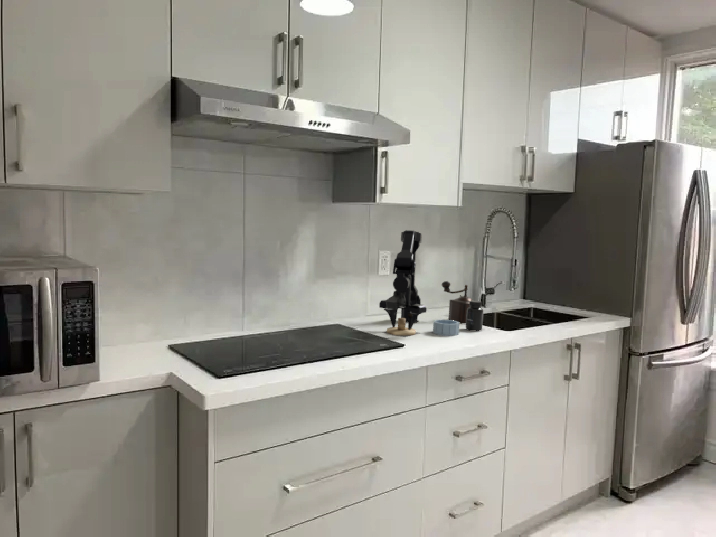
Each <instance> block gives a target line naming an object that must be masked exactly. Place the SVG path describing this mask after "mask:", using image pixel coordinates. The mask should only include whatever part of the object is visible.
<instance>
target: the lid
mask: <svg viewBox="0 0 716 537" xmlns="http://www.w3.org/2000/svg"><path fill="white" fill-rule="evenodd" d="M406 323H407V322H406V318H401V317H398V318H397V326H395V327H392V326H391V327H387V329H386V331H387V333H389V334H388V335H391V334H392V336H396V335H399V336H398V337H402V336H408V337H411V336H410V335H412V336H416V335H417V334H416V332H417V330H416V329H415V328H413V327H412V328H411V330H408V326H407V325H406ZM406 326H407V327H406ZM415 334H416V335H415Z"/></svg>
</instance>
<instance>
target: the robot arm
mask: <svg viewBox="0 0 716 537" xmlns="http://www.w3.org/2000/svg"><path fill="white" fill-rule="evenodd" d="M400 242H401V243H402V246H401V251H399V252H398V253H397V254H396V258H394V261H393V269H392V274H393V275H396V277H395V278H393V279H394V280H393V281H392V287H393V289H394V290H393V294H392V296H390V297H389V298H387V299H382V300H380V301H379V308H380V309H383V311H385V312H386V313H387V314H388V316H389V320H390V323H391V327H396V324H397V319H398V318H397V316H398V310H399V309H401V312H400V318H406V323H408V324H407V328H408V330H411V328H412V329H413V325H414V324H415V323H419V320H418V317H419V315H421V314H424V313H427V306H426V305H425V304H421V298H420V295H419V290H418V288H417V287H416V285H415V283H416V268H417V267H416V266H417V263H416V262H417V259H416V258H417V251H418V249H420V245H421V243H422V233H421V232H419V231H415V230H407V229H406V230H403V231H402V232H401V233H400Z"/></svg>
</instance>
